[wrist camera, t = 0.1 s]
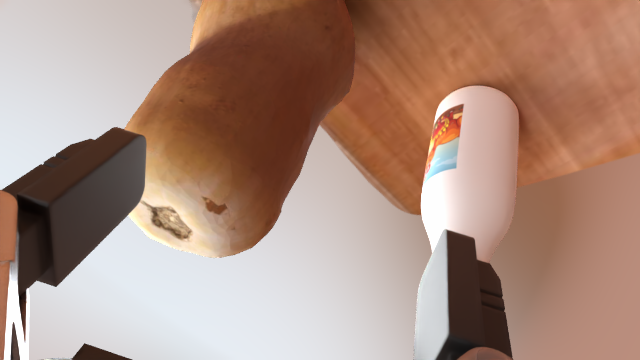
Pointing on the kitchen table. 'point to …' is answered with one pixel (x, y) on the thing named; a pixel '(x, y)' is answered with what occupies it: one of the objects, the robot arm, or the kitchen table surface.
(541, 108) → the kitchen table surface
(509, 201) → the milk bottle
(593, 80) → the kitchen table surface
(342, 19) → the butternut squash
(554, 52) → the kitchen table surface
